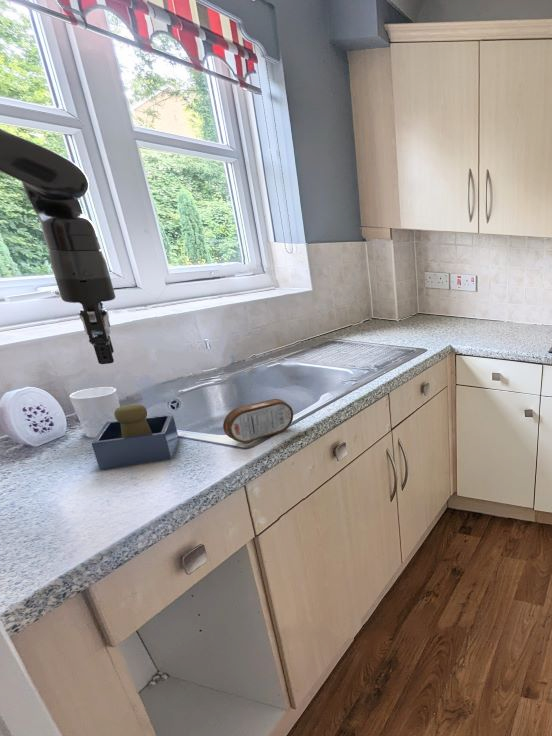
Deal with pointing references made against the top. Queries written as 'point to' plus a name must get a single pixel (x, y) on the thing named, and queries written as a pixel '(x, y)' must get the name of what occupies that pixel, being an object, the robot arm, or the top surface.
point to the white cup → (95, 408)
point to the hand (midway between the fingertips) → (107, 358)
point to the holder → (135, 443)
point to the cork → (132, 420)
